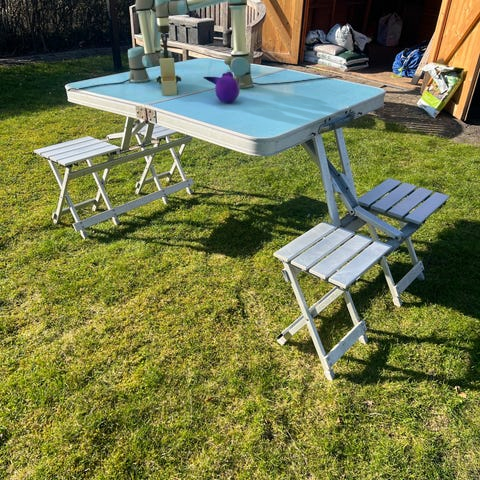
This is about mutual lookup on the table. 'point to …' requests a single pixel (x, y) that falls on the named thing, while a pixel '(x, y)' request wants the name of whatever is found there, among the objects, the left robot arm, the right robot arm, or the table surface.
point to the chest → (169, 86)
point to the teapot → (228, 62)
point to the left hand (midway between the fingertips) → (168, 82)
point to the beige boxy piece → (167, 67)
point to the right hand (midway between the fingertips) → (166, 63)
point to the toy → (225, 87)
